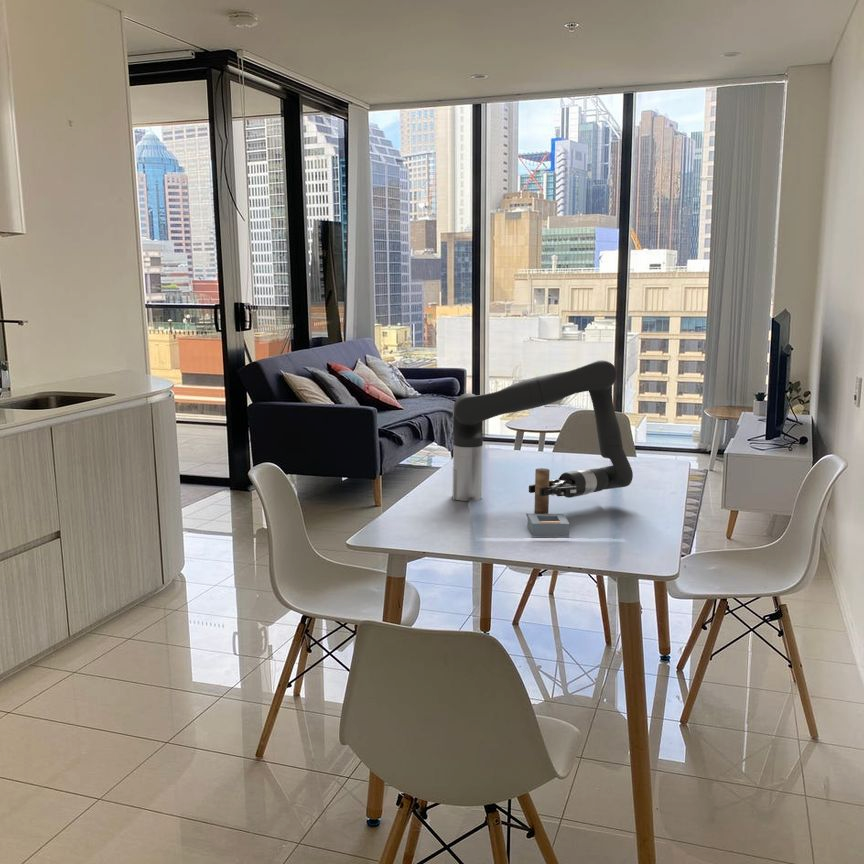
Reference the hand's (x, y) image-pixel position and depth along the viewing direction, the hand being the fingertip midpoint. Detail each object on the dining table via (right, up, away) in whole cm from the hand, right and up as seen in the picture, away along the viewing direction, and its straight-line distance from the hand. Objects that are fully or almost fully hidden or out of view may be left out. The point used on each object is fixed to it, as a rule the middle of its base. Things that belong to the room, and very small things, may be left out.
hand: (535, 490), depth 246 cm
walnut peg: (+2, -8, +3) cm, 9 cm away
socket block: (+2, -11, -10) cm, 15 cm away
